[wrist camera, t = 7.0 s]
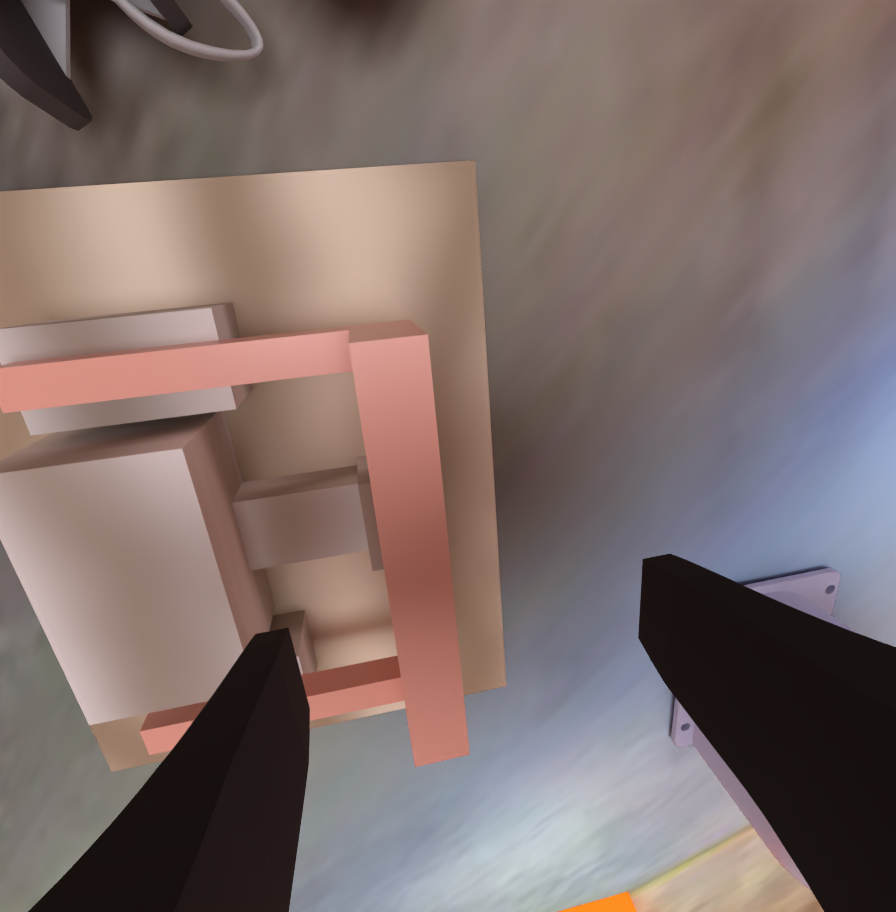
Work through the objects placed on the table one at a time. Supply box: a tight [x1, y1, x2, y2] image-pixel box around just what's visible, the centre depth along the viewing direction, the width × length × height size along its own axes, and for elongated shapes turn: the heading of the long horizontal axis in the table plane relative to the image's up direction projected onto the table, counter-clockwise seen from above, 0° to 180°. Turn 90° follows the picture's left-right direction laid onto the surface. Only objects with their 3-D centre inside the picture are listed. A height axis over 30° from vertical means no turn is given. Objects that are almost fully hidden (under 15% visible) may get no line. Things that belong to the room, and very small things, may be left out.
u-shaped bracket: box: [0, 319, 469, 767], centre depth 13 cm, size 10×12×3 cm
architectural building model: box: [0, 160, 506, 772], centre depth 16 cm, size 16×20×5 cm
